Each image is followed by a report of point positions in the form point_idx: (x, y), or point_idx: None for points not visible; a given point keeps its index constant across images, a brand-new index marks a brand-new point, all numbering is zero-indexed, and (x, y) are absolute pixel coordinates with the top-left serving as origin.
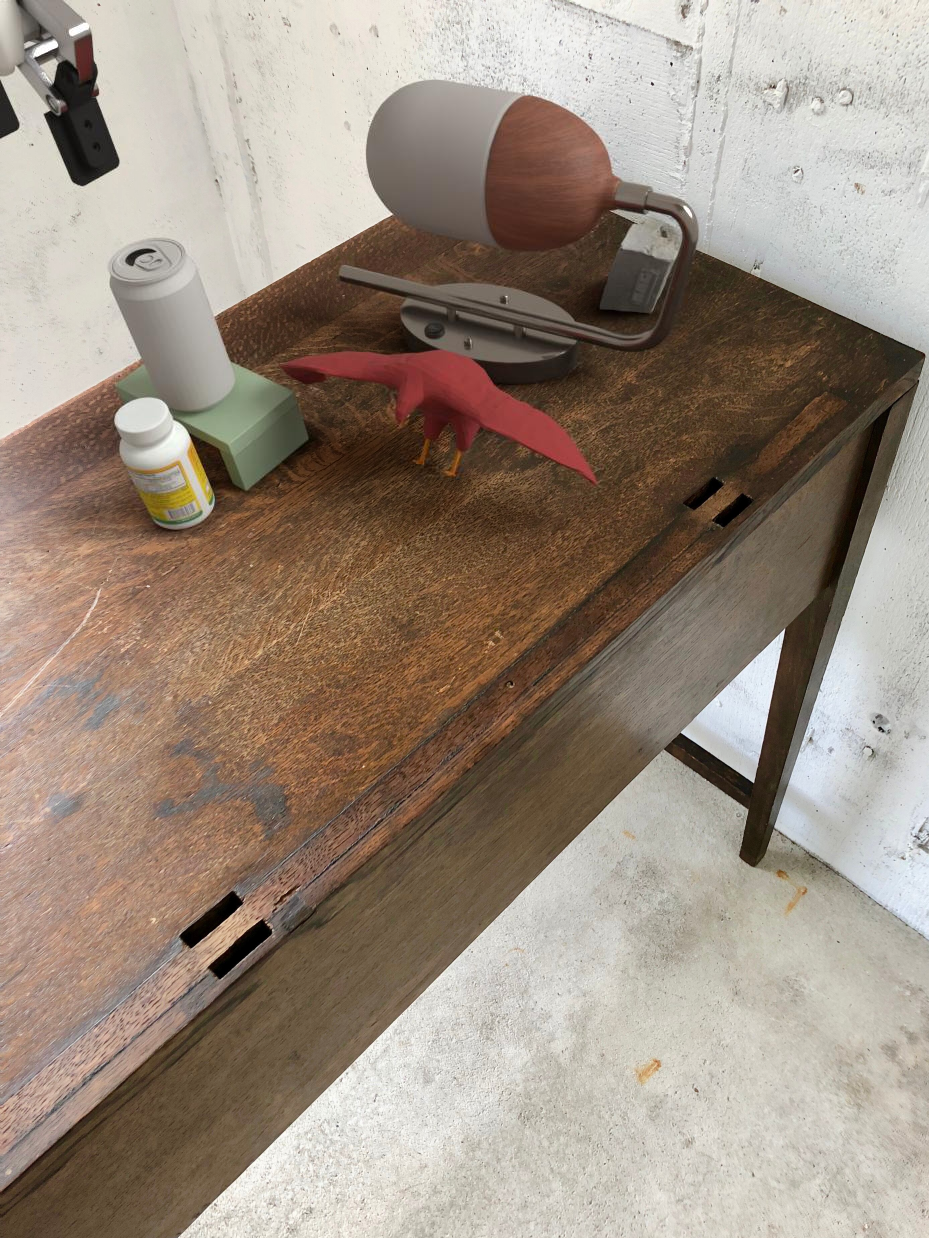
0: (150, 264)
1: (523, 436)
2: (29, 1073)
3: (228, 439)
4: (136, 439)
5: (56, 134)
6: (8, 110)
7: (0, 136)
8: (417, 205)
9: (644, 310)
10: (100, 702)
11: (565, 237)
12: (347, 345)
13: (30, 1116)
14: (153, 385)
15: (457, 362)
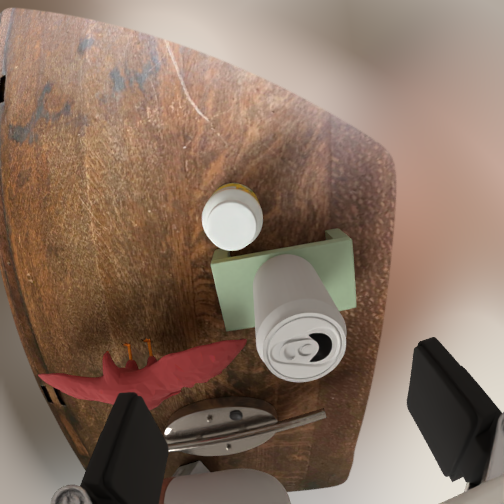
0: (295, 348)
1: (47, 378)
2: (12, 13)
3: (215, 267)
4: (214, 207)
5: (94, 455)
6: (418, 420)
7: (411, 377)
8: (213, 485)
9: (180, 467)
10: (124, 81)
11: None
12: None
13: (4, 13)
14: (296, 259)
15: None
